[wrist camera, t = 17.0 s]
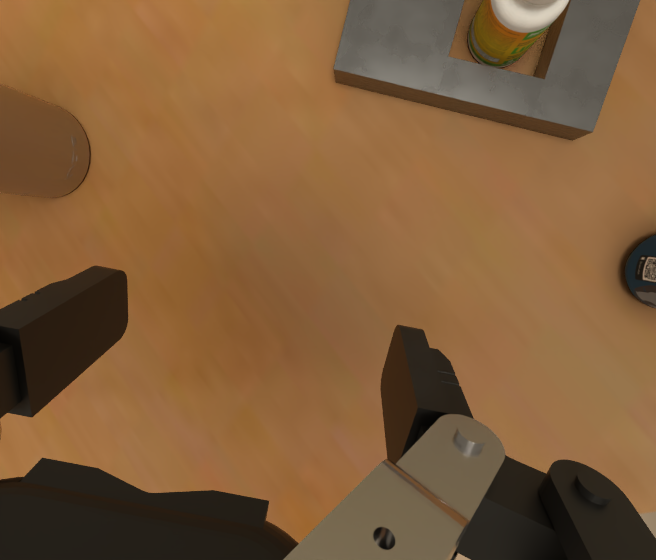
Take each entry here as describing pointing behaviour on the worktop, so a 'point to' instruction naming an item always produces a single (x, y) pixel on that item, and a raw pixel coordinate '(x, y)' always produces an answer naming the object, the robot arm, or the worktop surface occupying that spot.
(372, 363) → the worktop surface
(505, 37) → the supplement bottle
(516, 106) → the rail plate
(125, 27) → the worktop surface
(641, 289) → the soda can
